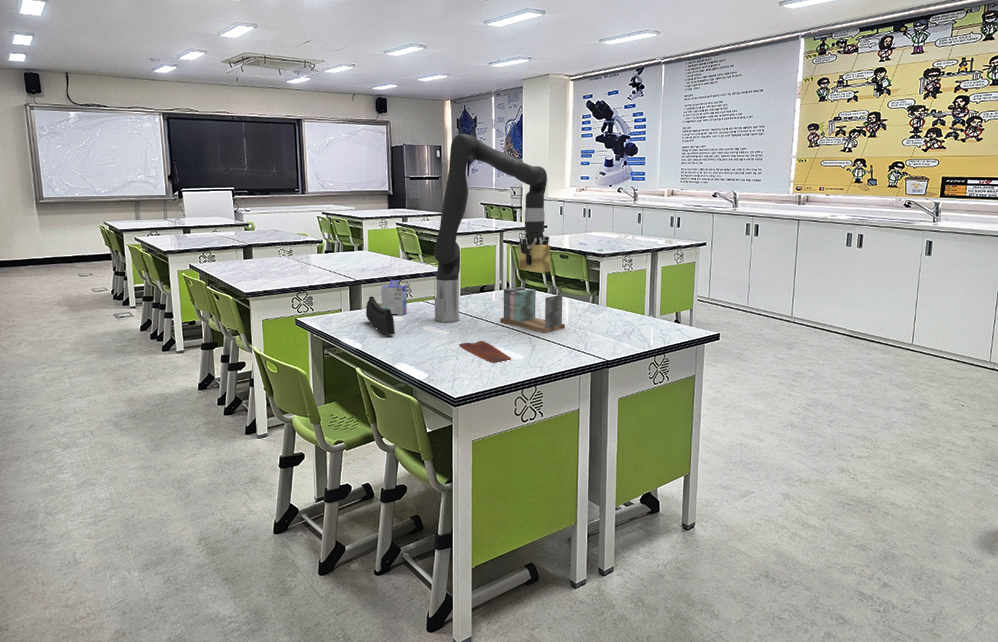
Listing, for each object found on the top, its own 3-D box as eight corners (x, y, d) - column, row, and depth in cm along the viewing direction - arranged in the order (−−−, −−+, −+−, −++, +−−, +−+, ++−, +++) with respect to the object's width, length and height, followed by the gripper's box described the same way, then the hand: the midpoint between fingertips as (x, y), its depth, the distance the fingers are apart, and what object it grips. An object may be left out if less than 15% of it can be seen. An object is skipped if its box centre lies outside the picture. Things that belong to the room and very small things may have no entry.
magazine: (396, 315, 252) (375, 280, 275) (387, 315, 250) (367, 280, 274) (393, 354, 260) (373, 317, 283) (385, 355, 258) (365, 318, 282)
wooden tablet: (457, 346, 245) (457, 342, 245) (482, 343, 249) (482, 339, 249) (488, 365, 222) (488, 360, 221) (516, 361, 226) (516, 357, 226)
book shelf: (543, 332, 263) (544, 298, 260) (500, 321, 282) (500, 289, 279) (564, 328, 271) (565, 294, 268) (521, 317, 289) (521, 286, 286)
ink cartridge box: (407, 312, 299) (406, 280, 295) (403, 315, 293) (402, 282, 290) (385, 312, 300) (384, 279, 297) (381, 314, 295) (380, 281, 292)
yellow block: (540, 272, 259) (540, 246, 257) (519, 269, 268) (519, 243, 266) (549, 271, 262) (550, 245, 260) (528, 268, 271) (528, 242, 269)
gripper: (541, 218, 268) (540, 261, 272) (514, 220, 259) (514, 264, 263) (554, 219, 263) (554, 263, 267) (527, 221, 254) (527, 266, 257)
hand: (534, 263), depth 265 cm, fingers closed on yellow block, 5 cm apart
